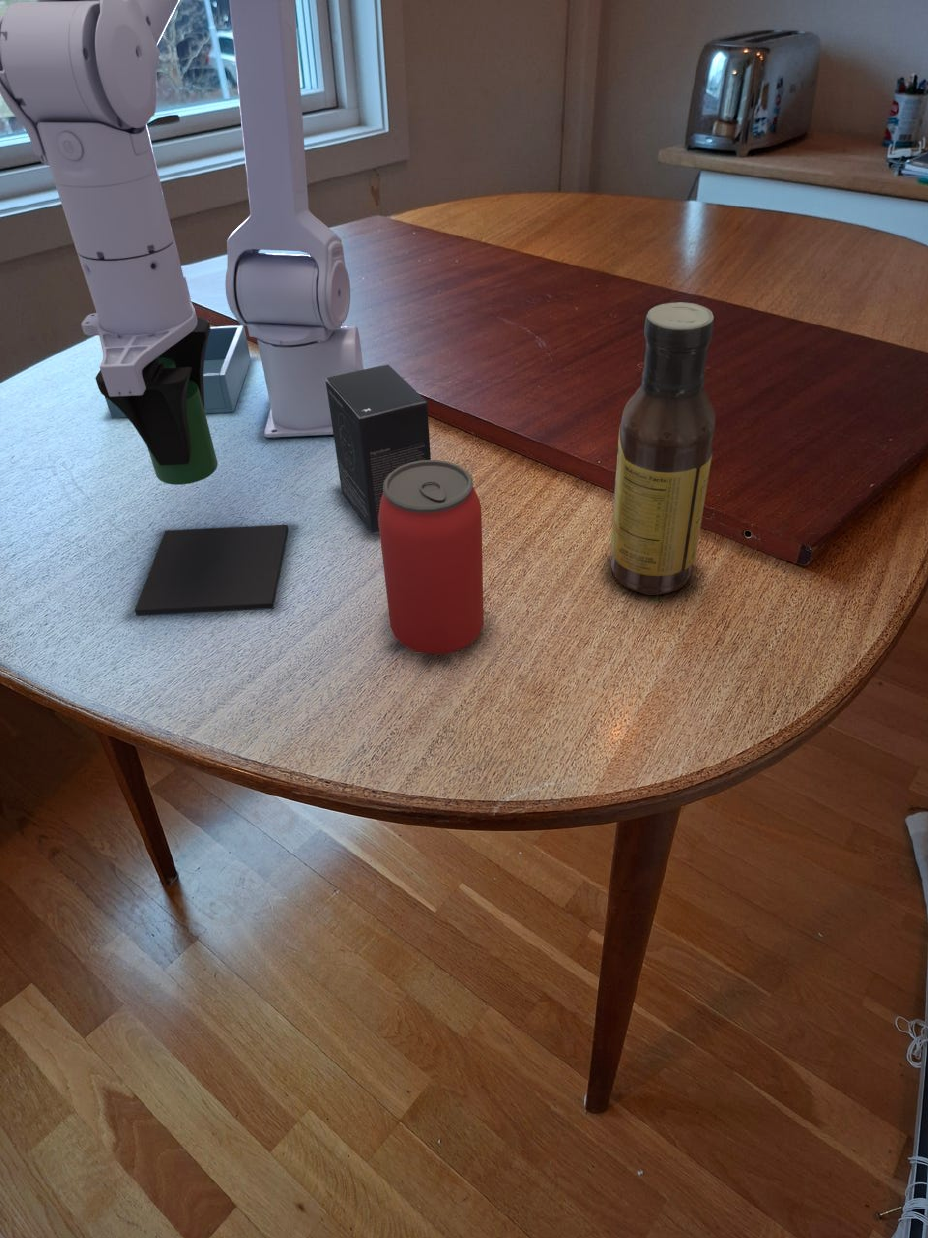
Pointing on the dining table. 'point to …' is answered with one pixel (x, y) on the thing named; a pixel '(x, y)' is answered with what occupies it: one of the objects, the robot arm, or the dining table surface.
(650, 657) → the dining table surface
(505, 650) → the dining table surface
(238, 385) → the case
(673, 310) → the sauce bottle
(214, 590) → the mat
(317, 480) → the dining table surface
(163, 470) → the bottle
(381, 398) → the box
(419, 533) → the beer can
